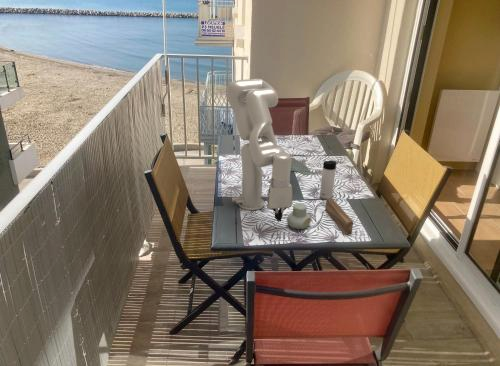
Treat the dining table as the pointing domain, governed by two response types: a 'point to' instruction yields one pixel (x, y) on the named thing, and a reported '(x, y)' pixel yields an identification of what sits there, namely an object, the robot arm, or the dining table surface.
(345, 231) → the board
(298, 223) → the air freshener
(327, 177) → the travel mug
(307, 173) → the decorative slab
